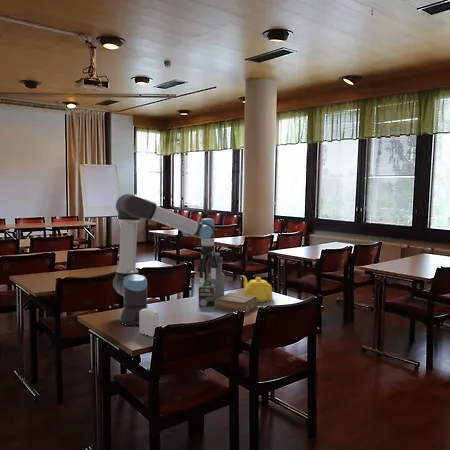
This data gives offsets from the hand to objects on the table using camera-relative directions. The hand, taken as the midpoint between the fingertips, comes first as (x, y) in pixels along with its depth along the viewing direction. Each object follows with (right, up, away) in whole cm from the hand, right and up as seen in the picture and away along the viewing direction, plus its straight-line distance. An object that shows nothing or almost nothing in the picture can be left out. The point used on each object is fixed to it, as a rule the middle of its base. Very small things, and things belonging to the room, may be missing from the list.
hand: (207, 281), depth 269 cm
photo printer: (-25, -19, -54) cm, 63 cm away
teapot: (+30, -13, +16) cm, 36 cm away
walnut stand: (+17, -15, -5) cm, 23 cm away
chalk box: (0, -14, +1) cm, 14 cm away
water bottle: (+5, -13, +17) cm, 22 cm away
